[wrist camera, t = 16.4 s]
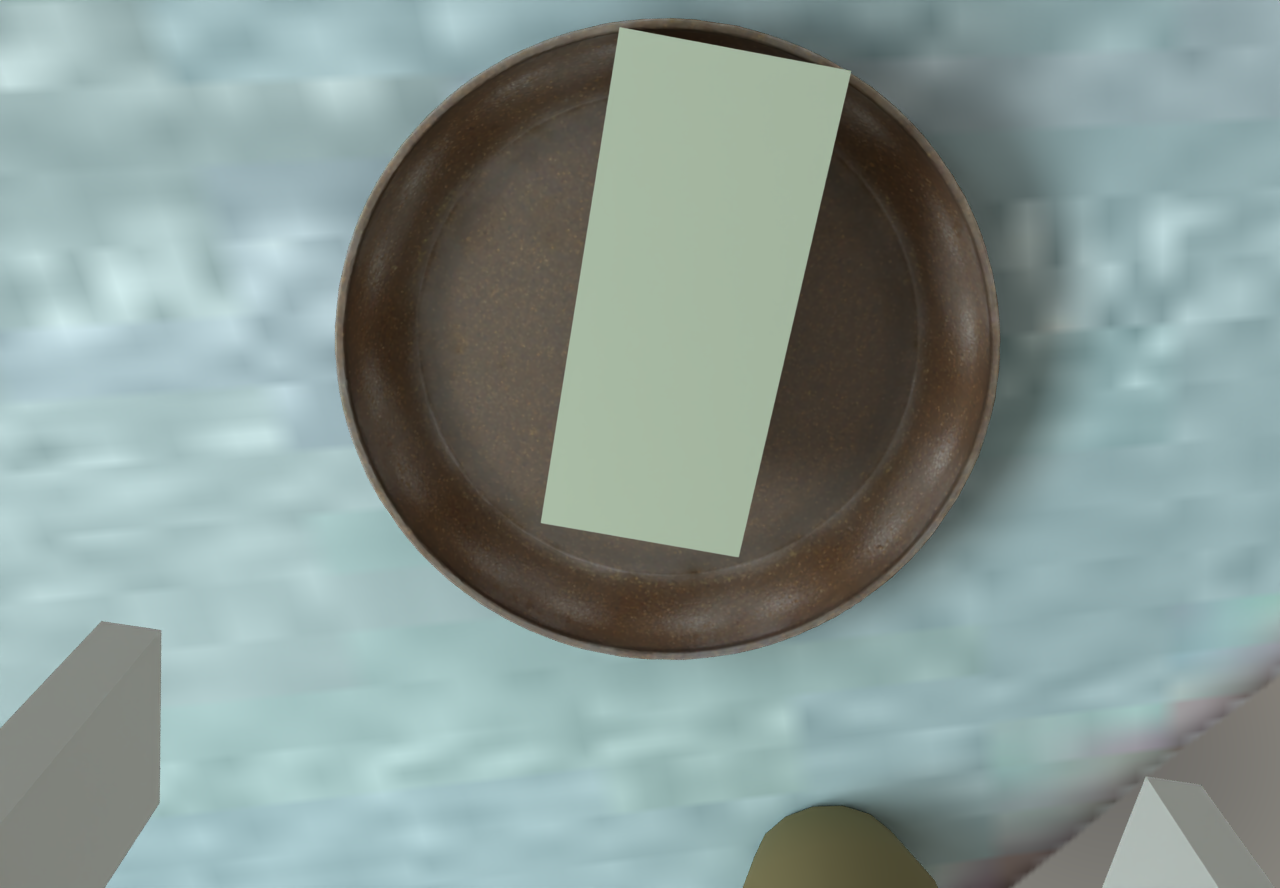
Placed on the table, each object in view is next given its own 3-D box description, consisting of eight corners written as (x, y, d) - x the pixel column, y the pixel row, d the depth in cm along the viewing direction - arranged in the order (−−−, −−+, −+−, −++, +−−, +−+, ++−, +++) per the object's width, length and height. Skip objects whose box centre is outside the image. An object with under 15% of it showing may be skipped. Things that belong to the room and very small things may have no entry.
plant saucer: (476, 672, 42) (461, 723, 39) (263, 131, 35) (224, 140, 32) (1020, 540, 39) (1050, 583, 36) (903, -70, 33) (928, -82, 29)
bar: (551, 484, 35) (540, 523, 33) (624, 28, 31) (619, 27, 28) (733, 516, 36) (738, 557, 33) (835, 68, 31) (851, 70, 28)
